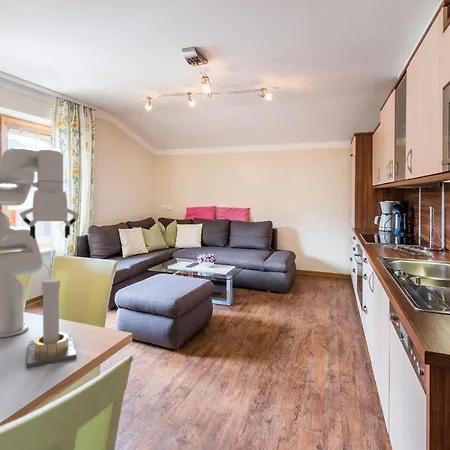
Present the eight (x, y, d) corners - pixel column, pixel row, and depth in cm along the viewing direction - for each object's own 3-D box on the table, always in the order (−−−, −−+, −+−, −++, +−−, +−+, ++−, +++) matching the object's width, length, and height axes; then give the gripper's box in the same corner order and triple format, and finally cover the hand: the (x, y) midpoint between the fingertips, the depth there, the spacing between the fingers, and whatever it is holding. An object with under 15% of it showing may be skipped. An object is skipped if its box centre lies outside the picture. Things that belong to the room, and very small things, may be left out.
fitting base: (28, 345, 115) (28, 330, 115) (71, 337, 122) (71, 324, 122) (27, 368, 99) (26, 351, 99) (76, 358, 107) (76, 342, 106)
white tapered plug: (52, 354, 106) (52, 265, 103) (36, 352, 107) (35, 264, 105) (63, 347, 111) (64, 262, 109) (48, 345, 112) (48, 261, 110)
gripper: (18, 185, 98) (19, 240, 100) (79, 188, 107) (79, 238, 108) (20, 185, 105) (20, 237, 106) (77, 188, 113) (77, 236, 115)
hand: (50, 237), depth 107 cm, fingers open, 9 cm apart
